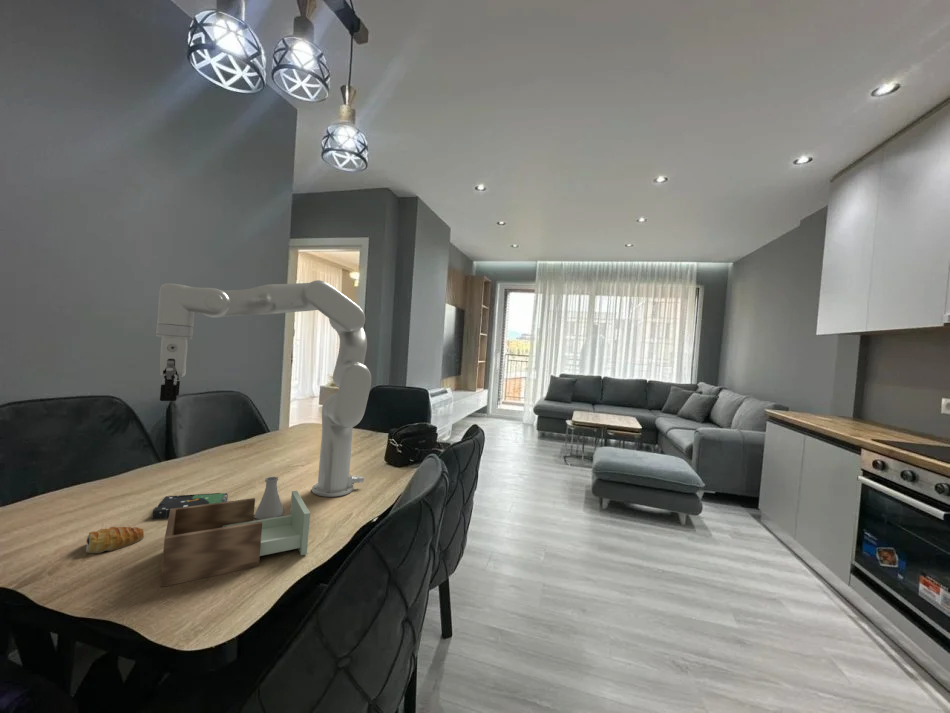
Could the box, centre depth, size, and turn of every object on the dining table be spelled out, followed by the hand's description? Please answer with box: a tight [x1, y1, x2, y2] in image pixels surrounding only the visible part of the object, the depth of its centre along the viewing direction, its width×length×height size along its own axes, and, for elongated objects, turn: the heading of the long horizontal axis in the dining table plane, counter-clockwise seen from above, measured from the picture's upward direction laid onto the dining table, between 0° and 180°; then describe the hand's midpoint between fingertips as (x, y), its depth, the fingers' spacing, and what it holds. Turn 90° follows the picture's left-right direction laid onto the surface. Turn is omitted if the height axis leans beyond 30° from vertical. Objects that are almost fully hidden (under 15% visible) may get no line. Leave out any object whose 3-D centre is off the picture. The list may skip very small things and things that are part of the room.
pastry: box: [85, 526, 145, 555], centre depth 85 cm, size 9×7×4 cm
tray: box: [223, 490, 311, 557], centre depth 88 cm, size 16×15×9 cm
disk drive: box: [151, 492, 229, 520], centre depth 104 cm, size 10×3×15 cm
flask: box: [254, 476, 284, 520], centre depth 104 cm, size 7×7×10 cm
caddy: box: [160, 497, 262, 588], centre depth 82 cm, size 16×15×9 cm
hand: (169, 398), depth 100 cm, fingers open, 9 cm apart
